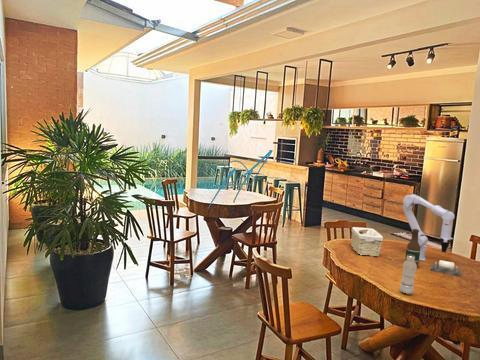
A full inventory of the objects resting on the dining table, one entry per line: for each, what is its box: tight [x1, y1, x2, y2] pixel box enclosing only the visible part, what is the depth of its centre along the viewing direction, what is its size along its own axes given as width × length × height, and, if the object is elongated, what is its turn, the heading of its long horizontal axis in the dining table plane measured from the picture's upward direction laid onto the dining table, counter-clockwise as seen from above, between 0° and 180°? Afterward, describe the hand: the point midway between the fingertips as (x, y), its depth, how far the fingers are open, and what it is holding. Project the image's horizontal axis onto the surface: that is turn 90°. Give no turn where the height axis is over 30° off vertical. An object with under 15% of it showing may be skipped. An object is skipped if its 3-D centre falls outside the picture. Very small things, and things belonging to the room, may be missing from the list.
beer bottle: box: [404, 229, 420, 268], centre depth 229 cm, size 8×8×24 cm
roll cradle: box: [430, 261, 462, 277], centre depth 226 cm, size 16×10×4 cm, turn 61°
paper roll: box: [437, 259, 456, 270], centre depth 225 cm, size 9×5×5 cm, turn 61°
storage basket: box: [350, 226, 384, 257], centre depth 255 cm, size 24×16×15 cm
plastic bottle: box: [399, 255, 417, 295], centre depth 186 cm, size 6×7×20 cm
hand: (443, 250), depth 237 cm, fingers open, 7 cm apart
